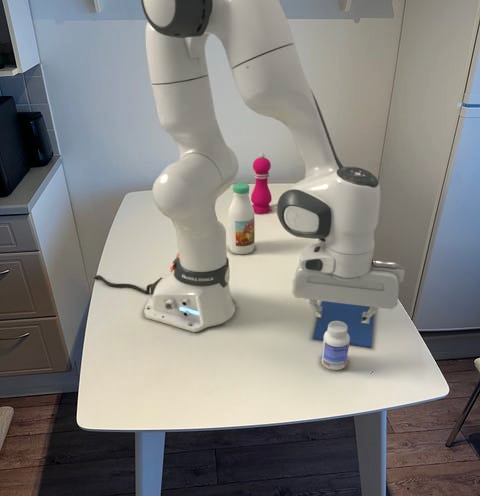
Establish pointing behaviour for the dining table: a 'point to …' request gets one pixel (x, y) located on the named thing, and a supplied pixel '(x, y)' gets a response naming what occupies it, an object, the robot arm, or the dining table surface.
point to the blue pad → (346, 322)
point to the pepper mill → (261, 186)
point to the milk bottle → (241, 221)
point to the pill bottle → (335, 346)
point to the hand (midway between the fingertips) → (341, 318)
